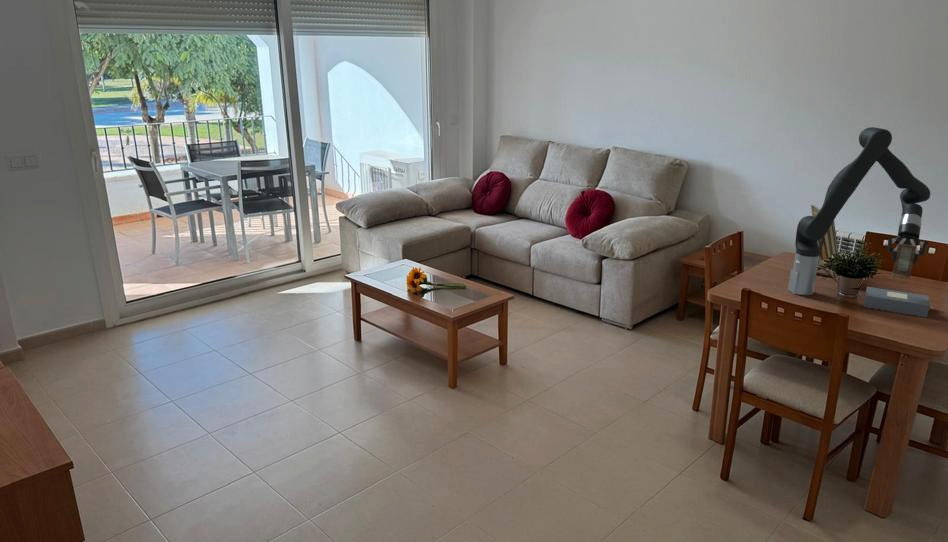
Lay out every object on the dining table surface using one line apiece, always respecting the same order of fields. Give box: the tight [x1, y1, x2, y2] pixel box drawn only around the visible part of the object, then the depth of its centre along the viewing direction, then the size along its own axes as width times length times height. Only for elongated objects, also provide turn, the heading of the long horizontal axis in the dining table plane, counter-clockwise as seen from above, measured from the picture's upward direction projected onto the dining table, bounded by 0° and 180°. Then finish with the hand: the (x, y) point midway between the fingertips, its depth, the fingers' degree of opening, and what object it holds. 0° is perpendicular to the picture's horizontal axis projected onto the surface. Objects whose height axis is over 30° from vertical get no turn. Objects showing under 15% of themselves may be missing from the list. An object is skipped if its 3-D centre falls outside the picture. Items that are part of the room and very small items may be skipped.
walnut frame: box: [891, 244, 917, 280], centre depth 272 cm, size 6×6×13 cm
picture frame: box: [810, 204, 839, 282], centre depth 317 cm, size 33×10×30 cm, turn 168°
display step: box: [863, 286, 931, 318], centre depth 277 cm, size 22×14×5 cm, turn 59°
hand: (904, 262), depth 270 cm, fingers closed on walnut frame, 6 cm apart
